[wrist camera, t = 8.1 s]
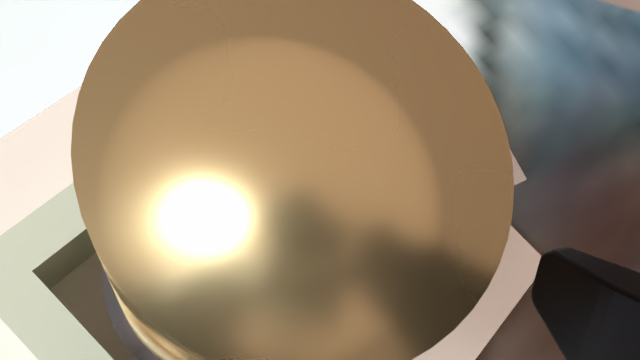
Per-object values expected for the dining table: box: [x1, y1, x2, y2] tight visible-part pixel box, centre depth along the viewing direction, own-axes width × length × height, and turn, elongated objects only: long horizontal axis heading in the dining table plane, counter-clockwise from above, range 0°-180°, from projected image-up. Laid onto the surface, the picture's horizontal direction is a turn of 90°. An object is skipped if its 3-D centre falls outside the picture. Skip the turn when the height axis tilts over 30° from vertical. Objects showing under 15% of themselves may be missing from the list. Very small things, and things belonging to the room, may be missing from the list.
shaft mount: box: [0, 87, 541, 360], centre depth 17 cm, size 16×23×4 cm
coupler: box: [71, 0, 514, 360], centre depth 12 cm, size 6×6×13 cm
